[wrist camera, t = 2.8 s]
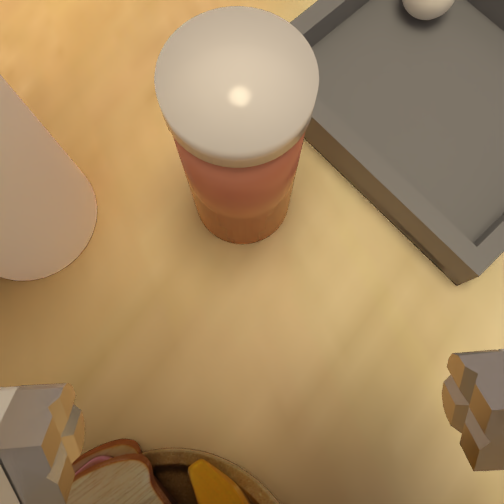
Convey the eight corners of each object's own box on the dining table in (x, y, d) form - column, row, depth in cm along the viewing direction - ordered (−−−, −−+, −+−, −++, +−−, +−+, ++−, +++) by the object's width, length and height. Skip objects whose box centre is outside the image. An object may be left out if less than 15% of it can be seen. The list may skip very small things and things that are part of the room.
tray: (248, 83, 28) (248, 56, 25) (413, -51, 30) (428, -88, 28) (456, 285, 25) (479, 276, 23) (621, 120, 27) (657, 96, 25)
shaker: (174, 196, 26) (120, 71, 15) (245, 137, 27) (242, -22, 16) (239, 265, 25) (230, 184, 14) (310, 202, 26) (353, 80, 15)
